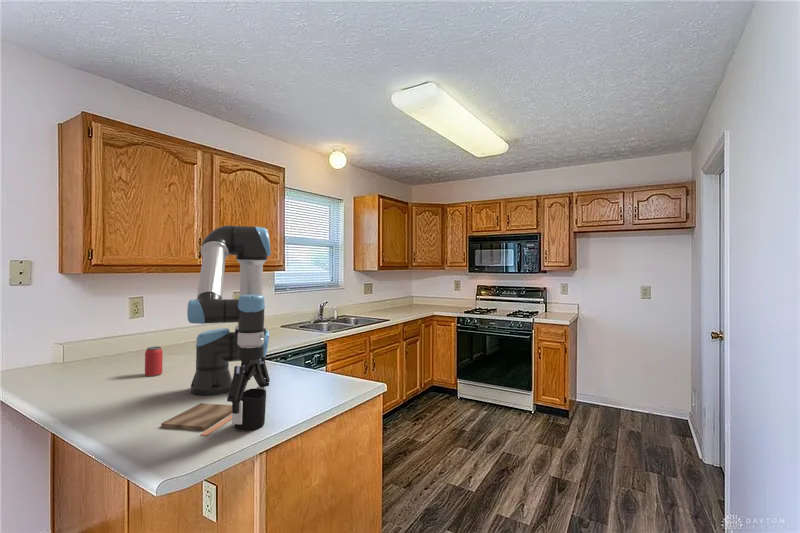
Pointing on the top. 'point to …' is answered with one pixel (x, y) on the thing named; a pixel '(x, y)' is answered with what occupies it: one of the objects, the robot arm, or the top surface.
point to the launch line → (216, 426)
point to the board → (199, 417)
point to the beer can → (153, 361)
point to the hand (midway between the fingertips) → (249, 415)
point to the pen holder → (252, 410)
